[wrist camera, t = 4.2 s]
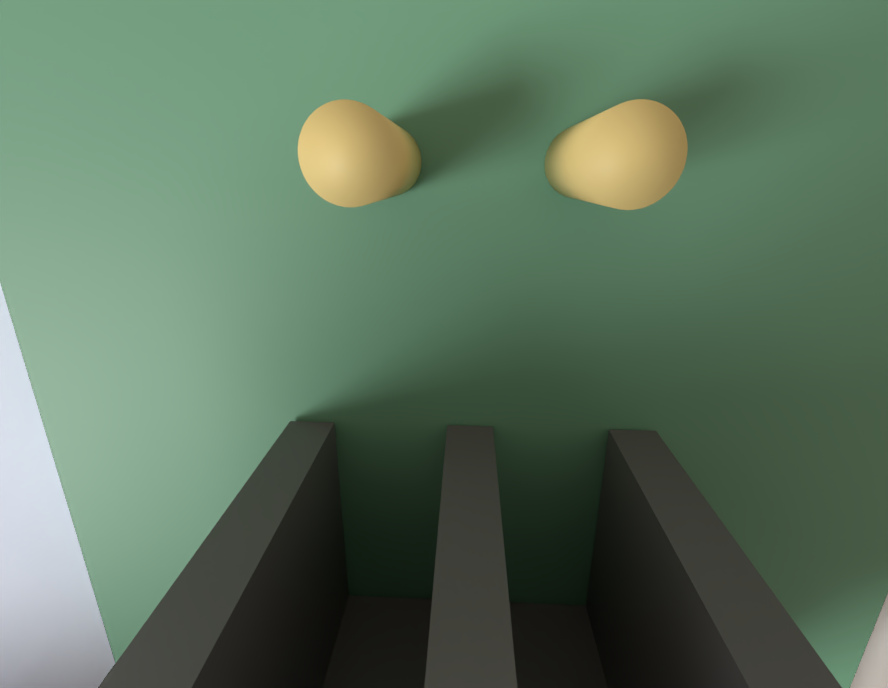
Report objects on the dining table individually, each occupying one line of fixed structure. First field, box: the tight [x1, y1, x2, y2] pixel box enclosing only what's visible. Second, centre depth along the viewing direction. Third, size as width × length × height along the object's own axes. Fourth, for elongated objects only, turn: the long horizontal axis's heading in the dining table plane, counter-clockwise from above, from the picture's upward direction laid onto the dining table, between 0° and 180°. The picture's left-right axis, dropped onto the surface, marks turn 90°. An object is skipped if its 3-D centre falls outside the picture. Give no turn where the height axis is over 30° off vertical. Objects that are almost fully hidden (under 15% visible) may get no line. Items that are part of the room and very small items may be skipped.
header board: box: [0, 0, 888, 688], centre depth 8 cm, size 16×20×3 cm
